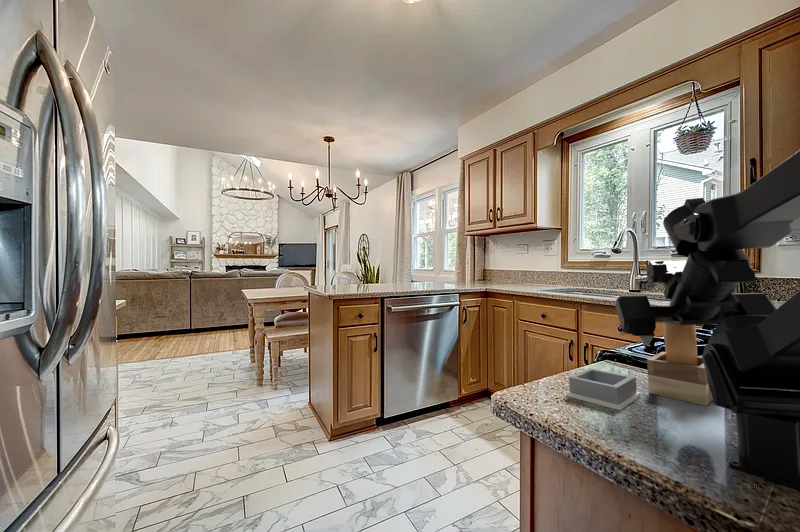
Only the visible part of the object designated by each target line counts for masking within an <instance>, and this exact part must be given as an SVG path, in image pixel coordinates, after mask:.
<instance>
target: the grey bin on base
mask: <svg viewBox="0 0 800 532" xmlns="http://www.w3.org/2000/svg"><path fill="white" fill-rule="evenodd" d="M568 383H569V385H568V386H569V387H568V388H569V390H568V391H566V392H565V394H566V395H565V396H566V397H569V398H572V399H577V400H581V401H585V402H588V403H592V404H595V405H599V406H602V407H605V408H606V407H607V408H609V409H614V410H617V411H622V410H624V409H625V408H626V407H627V406H629V405H630V404H632V403H633V402H634V401H636V400H637V399H639V398H641V396H642V395H641V392H640V391H637V378H636V376H633V375H632V376H631V375H627V374H622V373H617V372H611V371H607V370H601V369H597V368H590V367H588V368H586V369H584V370H582V371H580V372H578V373H575V374H573V375H569V377H568Z"/></svg>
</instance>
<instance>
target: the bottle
mask: <svg viewBox="0 0 800 532" xmlns="http://www.w3.org/2000/svg"><path fill="white" fill-rule="evenodd" d="M696 326H697V325H681V324H680V323H663V333H664V336H663V337H664V349H665V350H664V352H665V354H666V361H668V362H675V363H681V364H688V365H695V366H698V358H697V356H698V345H697V344H698V343H697V329H696Z"/></svg>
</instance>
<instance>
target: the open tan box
mask: <svg viewBox="0 0 800 532" xmlns="http://www.w3.org/2000/svg"><path fill="white" fill-rule="evenodd" d="M697 358H698V366H695V365H688V364H681V363H675V362H668V361H666V354H665V351H661V352H659V353H656V354H655V355H653V356H651V357H649V358H647V359H646V363H647V366H646V367H647V378H648V382H647V383H648V393H649V394H651V395H655V396H660V397H661V396H662V397H666V398H669V399H675V400H678V401H683V402H688V403H692V404H698V405H701V406H702V405H703V406H709V404H710V403H711V402H712V401H713V397H712V394H711V392H710V389H709V385H708V380H707V375H706V371H705V366H704V363H703V361H702V356H698V355H697Z"/></svg>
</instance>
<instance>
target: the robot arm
mask: <svg viewBox="0 0 800 532" xmlns="http://www.w3.org/2000/svg"><path fill="white" fill-rule="evenodd" d="M798 219H800V149H799V150H798V151H796V152H795V153H794V154H792V155H791V156H789V157H787V159H785V160H783V161H782V162H781V163H779V164H778V165H777V166H775V167H774V168H773V169H771V170H770V171H769V172H767V173H766V174H764V175H763V176H761V177H760V178H758V179H757V180H756V181H755V182H752V184H750V185H749V186H747V187H746V188H744V189H743V190H742V191H741V190H740V191H739V192H737V193H733V194H729V195H725V196H721V197H716V198H713V199H709V200H708V201H706V200H705V199H704V197H698V198H696V197H695V198H687V199H685V200H684V204H683V205H681V206H679V207H676V208H675V209H673V210H672V211H670V212H668V214H667V215H666V216H665V217H664V218H663V223H662V224H663V228H664V229H665V231H666V233H667V236H668V237H669V239H670V241H671V243H672V246H673V248H674V249H675V251H676V253H677V255H678V256H681V257H682V256H683V257H685V258H686V259H683V260H667V261H663V260H650V261H649V262H648V266H647V269H646V277H647V279H648V280H649V281H650V283H651V284H662V286H664V290H663V296H664V298H665V299H666V300H669V305H668V306H666V305H665V306H651V304H650V301H649V298H648V296H647V295H644V294H643V295H641V294H638V295H637V294H635V295H631V294H630V295H619V296H618V297H617V298H616V299H615V304H614V305H615V310H616V313H617V317H618V320H619V323H620V327H621V331H622V332H624V333H625V334H627V335H632V336H634V337H639V338H640V339H641V343H642V345H643V347H647V346H649V345H650V344H651V342H652V340H653V339H654V338H655V331H656V328H657V324H656V323H663V324H664V323H680V324H681V325H695V326H704V325H705V326H715V328H712V329H711V331H712V333H711V335H710V336H709V340H708V342H707V344H705V346H704V348H703V352H702V356H701V357H702V361H703V363H704V366H705V371H706V375H707V380H708V385H709V389H710V392H711V394H712V397H713V400H712V401H713V404H714V405H715V406H717V407H720V408H723V409H728V410H729V411H731V412H732V413H733V414H735V415H736V417H735V418H736V433H737V435H736V436H737V446H736V447H735V449H734V451H733V452H732V454H731V456H730V458H729V459H728V466H729V467H730V468H732V469H734V470H737V471H741V472H744V473H747V474H749V475H753V476H755V477H759V478H763V479H766V480H769V481H772V482H775V483H778V484H781V485H785V486H788V487H791V488H793V489H798V490H800V394H798V393H797V394H796V393H792V394H791V393H779V392H777V393H776V392H759V391H743V390H742V389H755V390H767V391H768V390H771V391H788V392H789V391H792V392H800V290H798V291H797V292H796V293H794V294H793V295H792V296H791V297H790V298H788V299H787V300H786V301H785V302H783V303H782V304H781V305H780V306H779V307H778V308H777V306H775V304H774V302H772V300H771V298H770V297H769V296H768V295H767V294H765V293H762V292H745V293H741V292H740V293H739V292H738V293H735V292H734V291H735V289H736V287H737V285H738V284H739V283H755V282H756V280H757V279H756V278H757V277H756V272H755V271H754V269H753V267H752V266H751V265H750V263H751V259H750V257H749V256H748V254H747V253H746V251H745V250H750V249H751V250H753V249H767V248H771V247H773V246H774V245H776V244H777V243H779V242H780V241H781V240H783V239H784V238H786V237H787V236H789V235H790V234H791V233H792V227H791V224H792V223H793V222H794V221H796V220H798Z"/></svg>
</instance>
